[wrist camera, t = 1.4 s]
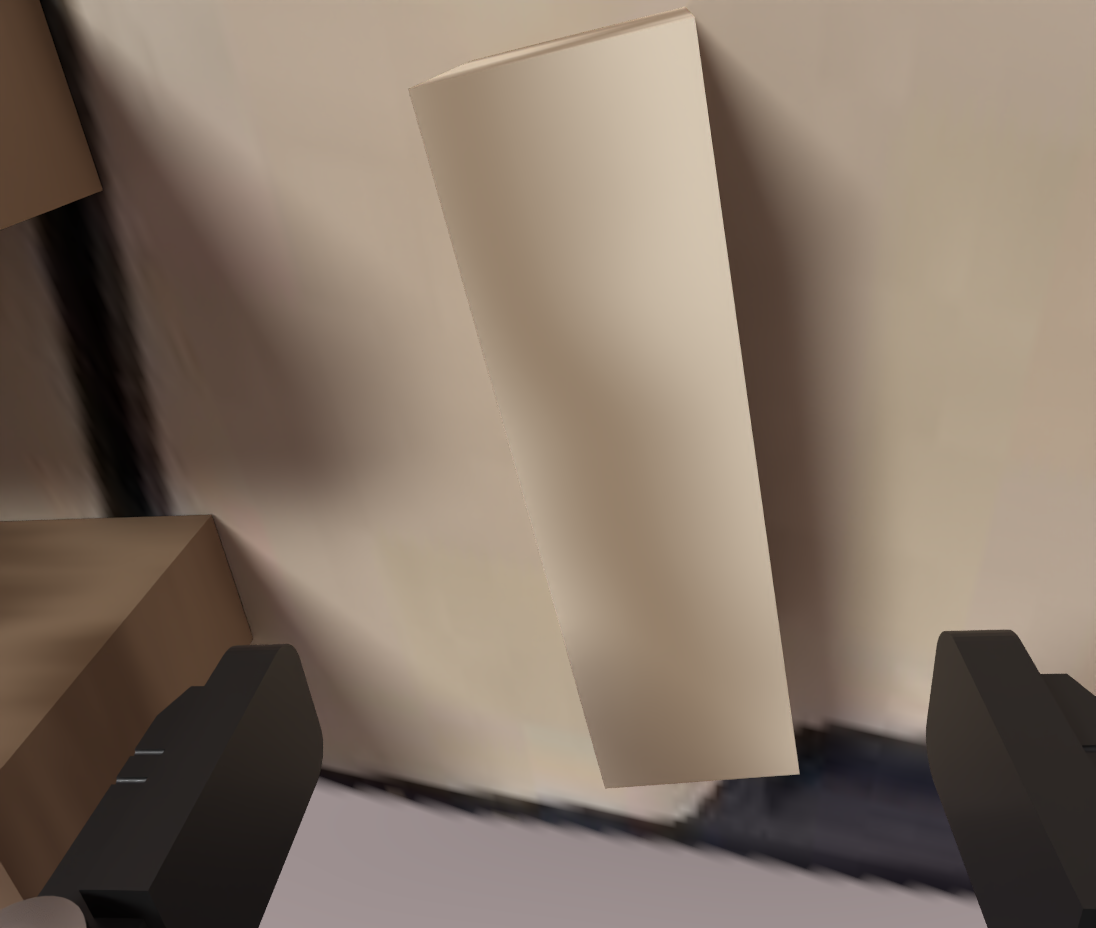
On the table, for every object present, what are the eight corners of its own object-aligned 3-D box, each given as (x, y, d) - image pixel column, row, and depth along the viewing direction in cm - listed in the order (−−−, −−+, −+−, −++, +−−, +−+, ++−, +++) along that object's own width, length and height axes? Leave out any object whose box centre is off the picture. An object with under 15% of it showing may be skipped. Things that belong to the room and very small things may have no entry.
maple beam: (685, 6, 16) (694, 17, 12) (771, 617, 22) (799, 774, 18) (473, 59, 17) (407, 88, 12) (615, 634, 23) (604, 788, 19)
